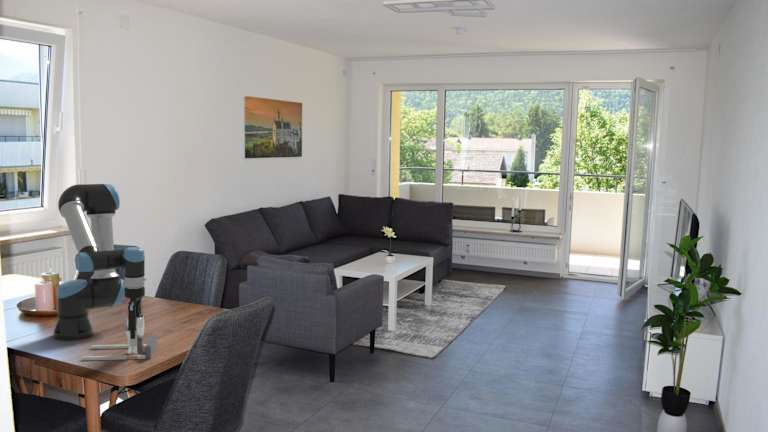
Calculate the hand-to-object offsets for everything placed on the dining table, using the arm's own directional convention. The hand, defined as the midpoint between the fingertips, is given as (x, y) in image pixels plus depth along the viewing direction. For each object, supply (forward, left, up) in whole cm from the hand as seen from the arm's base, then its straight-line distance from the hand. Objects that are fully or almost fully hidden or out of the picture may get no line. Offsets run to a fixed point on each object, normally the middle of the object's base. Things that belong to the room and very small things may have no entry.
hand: (135, 342), depth 254 cm
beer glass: (0, 0, -4) cm, 4 cm away
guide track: (-6, 0, -4) cm, 7 cm away
